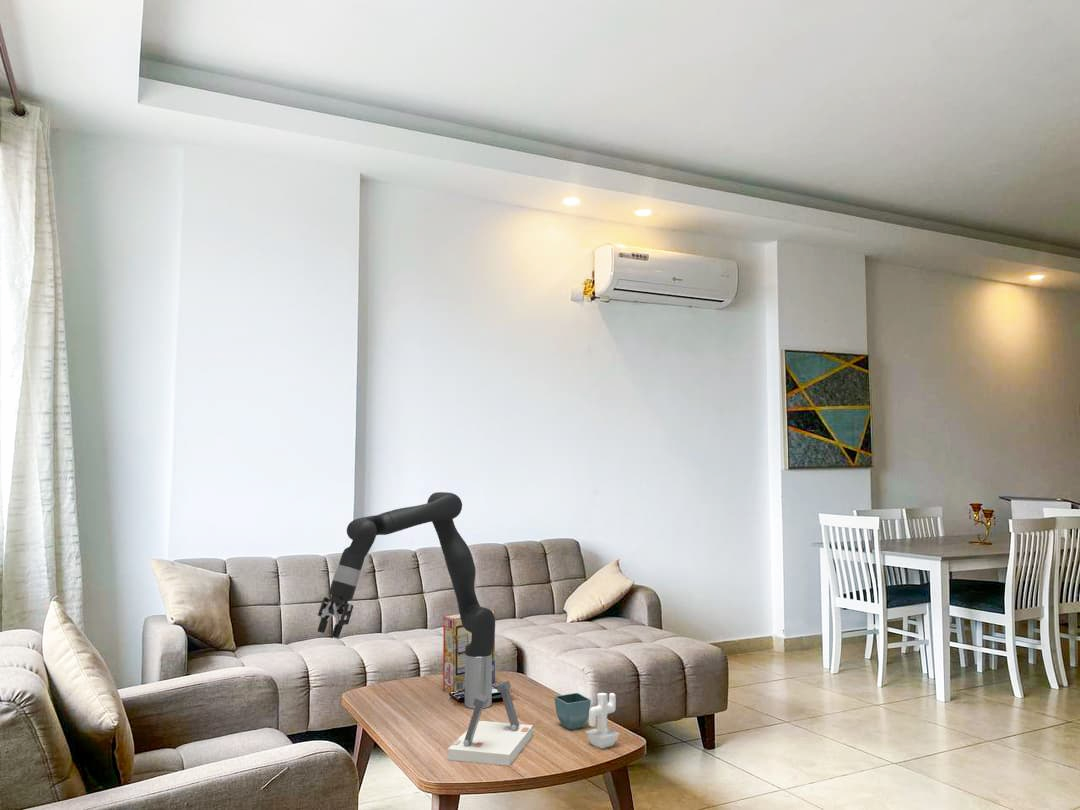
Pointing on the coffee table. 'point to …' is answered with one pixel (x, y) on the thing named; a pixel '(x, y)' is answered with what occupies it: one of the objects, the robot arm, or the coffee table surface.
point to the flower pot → (572, 710)
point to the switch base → (492, 744)
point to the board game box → (457, 653)
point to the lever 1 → (475, 718)
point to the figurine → (602, 721)
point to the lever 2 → (508, 704)
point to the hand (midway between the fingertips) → (327, 634)
